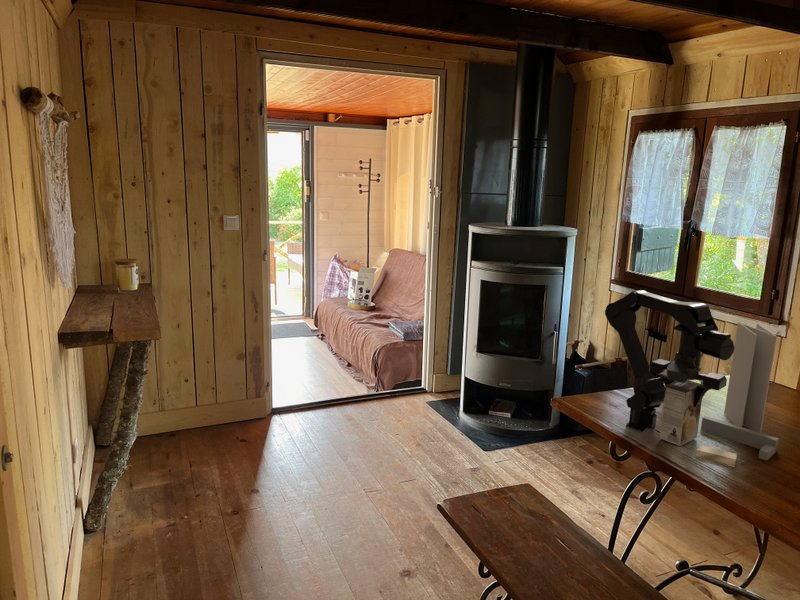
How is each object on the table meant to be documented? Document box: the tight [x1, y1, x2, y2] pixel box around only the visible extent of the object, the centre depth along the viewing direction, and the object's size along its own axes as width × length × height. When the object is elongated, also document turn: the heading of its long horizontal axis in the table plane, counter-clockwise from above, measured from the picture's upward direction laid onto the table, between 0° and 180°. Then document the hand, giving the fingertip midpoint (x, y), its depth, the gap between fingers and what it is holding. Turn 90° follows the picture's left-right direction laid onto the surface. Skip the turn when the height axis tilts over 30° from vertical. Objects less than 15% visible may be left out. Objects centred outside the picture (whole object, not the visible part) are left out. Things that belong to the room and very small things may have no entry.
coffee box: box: [659, 379, 703, 447], centre depth 162 cm, size 9×6×16 cm
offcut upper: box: [695, 444, 738, 467], centre depth 153 cm, size 9×4×2 cm, turn 58°
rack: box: [700, 415, 780, 462], centre depth 162 cm, size 19×8×5 cm, turn 42°
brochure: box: [723, 322, 778, 433], centre depth 174 cm, size 14×6×30 cm, turn 168°
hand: (682, 403), depth 161 cm, fingers closed on coffee box, 6 cm apart
